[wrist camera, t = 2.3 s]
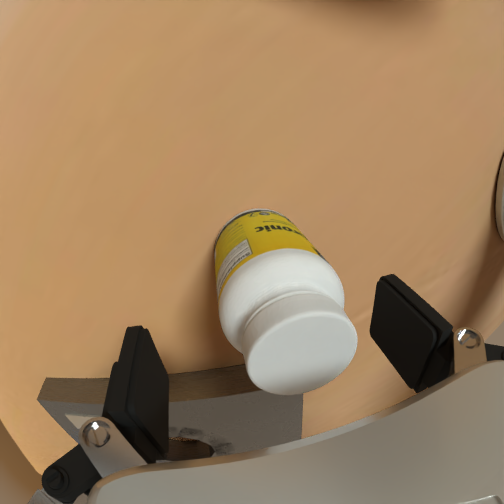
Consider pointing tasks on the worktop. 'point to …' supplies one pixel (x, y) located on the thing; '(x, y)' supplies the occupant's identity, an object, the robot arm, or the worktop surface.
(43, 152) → the worktop surface
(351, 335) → the supplement bottle
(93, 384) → the plate
